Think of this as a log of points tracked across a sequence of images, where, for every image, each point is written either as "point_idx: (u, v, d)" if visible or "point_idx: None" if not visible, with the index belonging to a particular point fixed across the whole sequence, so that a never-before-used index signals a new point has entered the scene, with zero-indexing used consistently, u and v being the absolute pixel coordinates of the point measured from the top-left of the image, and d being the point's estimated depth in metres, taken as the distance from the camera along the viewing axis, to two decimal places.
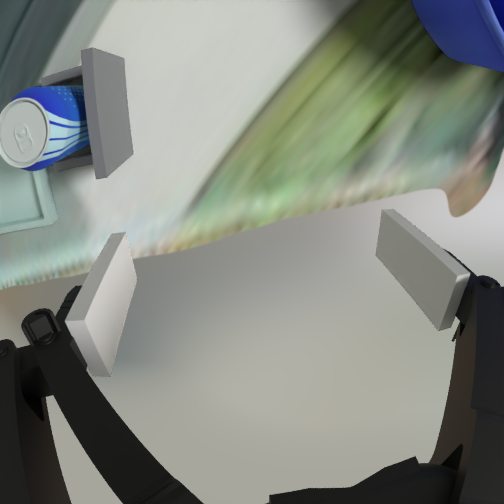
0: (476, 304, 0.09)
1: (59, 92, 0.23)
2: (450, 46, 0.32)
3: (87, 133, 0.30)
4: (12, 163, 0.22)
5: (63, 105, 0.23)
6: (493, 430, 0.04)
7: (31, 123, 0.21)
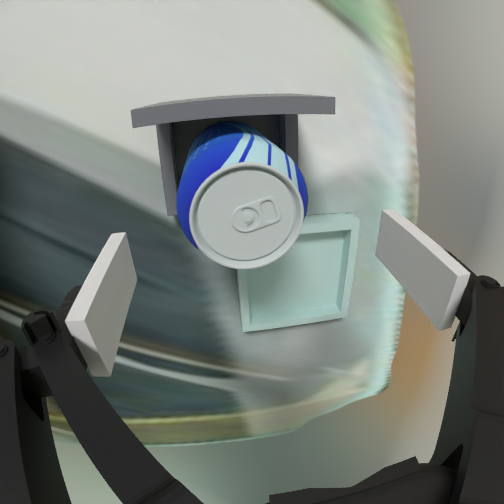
0: (476, 304, 0.09)
1: (193, 158, 0.19)
2: None
3: (260, 134, 0.24)
4: (291, 240, 0.19)
5: (215, 146, 0.18)
6: (493, 430, 0.04)
7: (235, 197, 0.18)
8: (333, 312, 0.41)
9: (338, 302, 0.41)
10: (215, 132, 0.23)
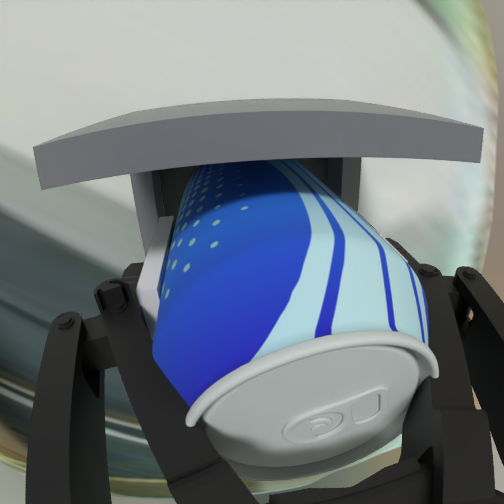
0: None
1: (184, 267, 0.08)
2: None
3: (317, 180, 0.13)
4: (391, 434, 0.08)
5: (242, 256, 0.07)
6: (463, 428, 0.05)
7: (298, 400, 0.06)
8: None
9: None
10: (231, 177, 0.12)
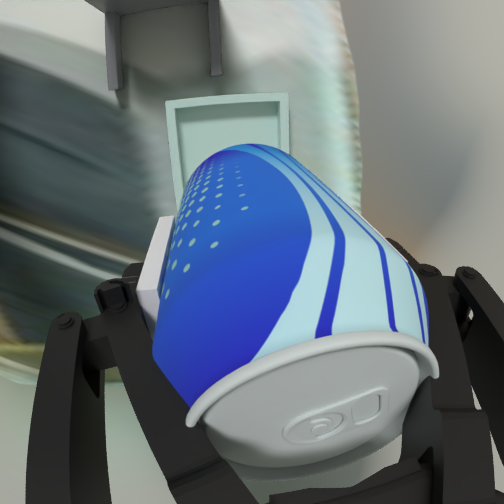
0: None
1: (184, 267, 0.08)
2: None
3: (317, 180, 0.13)
4: (391, 434, 0.08)
5: (242, 256, 0.07)
6: (463, 428, 0.05)
7: (298, 400, 0.06)
8: None
9: None
10: (231, 177, 0.12)
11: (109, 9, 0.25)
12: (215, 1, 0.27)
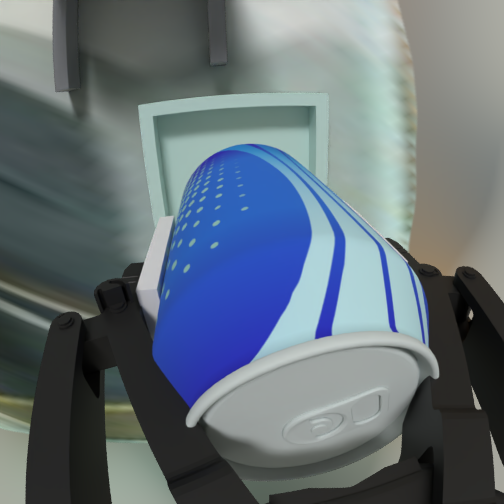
0: None
1: (184, 267, 0.08)
2: None
3: (317, 180, 0.13)
4: (391, 434, 0.08)
5: (242, 256, 0.07)
6: (463, 428, 0.05)
7: (298, 401, 0.06)
8: None
9: None
10: (231, 177, 0.12)
11: None
12: None
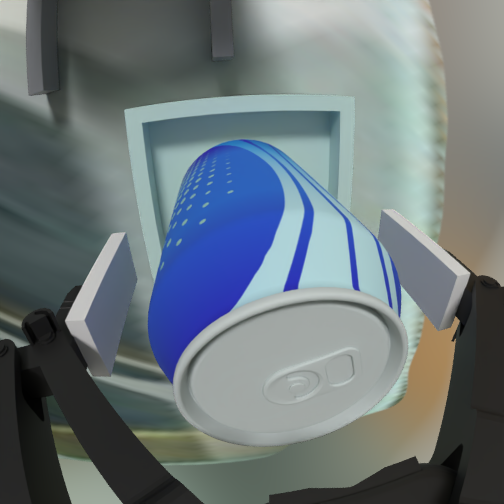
0: (476, 304, 0.09)
1: (176, 242, 0.09)
2: None
3: (301, 170, 0.14)
4: (370, 402, 0.09)
5: (224, 227, 0.08)
6: (493, 430, 0.04)
7: (274, 355, 0.08)
8: None
9: None
10: (222, 168, 0.13)
11: None
12: None
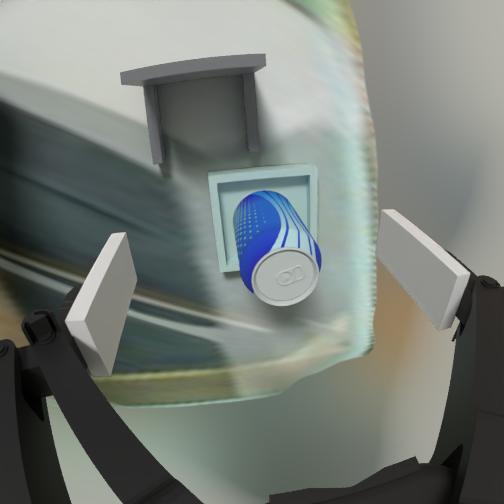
0: (476, 304, 0.09)
1: (249, 237, 0.32)
2: None
3: (289, 209, 0.36)
4: (311, 288, 0.31)
5: (265, 233, 0.30)
6: (493, 429, 0.04)
7: (279, 266, 0.30)
8: None
9: None
10: (259, 210, 0.36)
11: (148, 84, 0.32)
12: (251, 78, 0.34)
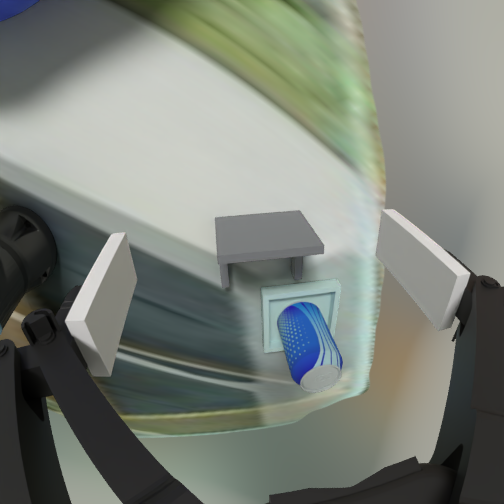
0: (476, 304, 0.09)
1: (299, 353, 0.47)
2: None
3: (321, 325, 0.51)
4: (335, 382, 0.46)
5: (310, 354, 0.45)
6: (493, 430, 0.04)
7: (318, 373, 0.45)
8: None
9: None
10: (302, 327, 0.50)
11: None
12: None
